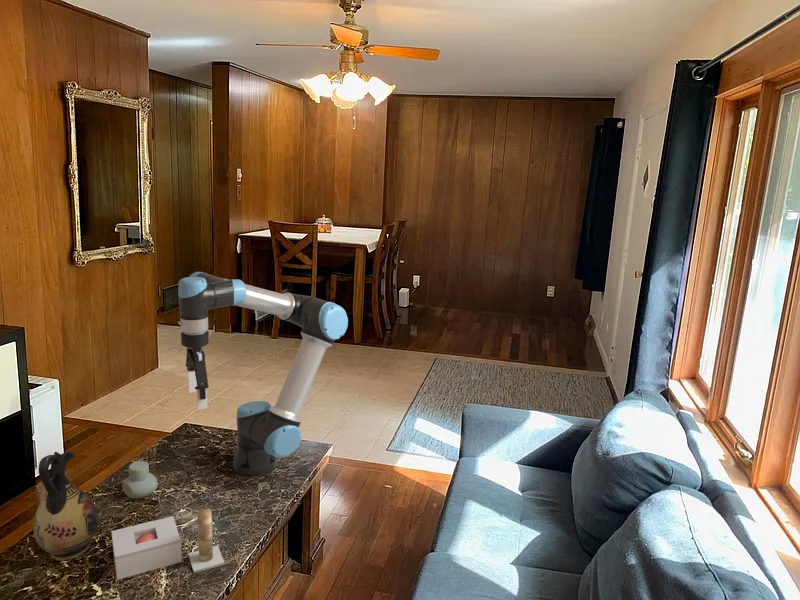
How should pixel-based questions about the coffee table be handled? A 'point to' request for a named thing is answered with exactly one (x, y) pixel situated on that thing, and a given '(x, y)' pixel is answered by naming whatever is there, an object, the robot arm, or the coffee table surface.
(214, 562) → the pad
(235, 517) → the coffee table surface
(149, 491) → the air freshener
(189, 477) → the coffee table surface
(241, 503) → the coffee table surface
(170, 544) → the box
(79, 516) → the ceramic jug
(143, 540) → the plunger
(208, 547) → the tan wooden rod
